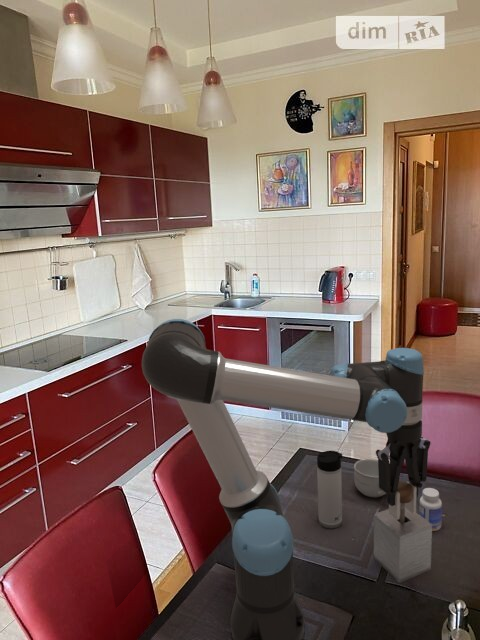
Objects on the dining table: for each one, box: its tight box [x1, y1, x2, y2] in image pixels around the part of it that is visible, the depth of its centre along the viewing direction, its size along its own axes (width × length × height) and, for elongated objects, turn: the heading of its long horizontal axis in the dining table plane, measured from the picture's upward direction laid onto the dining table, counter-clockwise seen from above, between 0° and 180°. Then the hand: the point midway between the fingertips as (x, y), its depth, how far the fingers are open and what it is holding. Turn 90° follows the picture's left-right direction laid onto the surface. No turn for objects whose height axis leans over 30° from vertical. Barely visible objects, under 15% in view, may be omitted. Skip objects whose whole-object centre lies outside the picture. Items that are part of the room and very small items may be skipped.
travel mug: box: [316, 450, 343, 529], centre depth 130 cm, size 6×7×20 cm
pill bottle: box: [418, 487, 443, 532], centre depth 128 cm, size 5×5×10 cm
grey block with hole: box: [373, 507, 433, 584], centre depth 116 cm, size 9×11×12 cm
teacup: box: [353, 458, 387, 498], centre depth 143 cm, size 14×11×8 cm
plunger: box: [397, 480, 412, 524], centre depth 113 cm, size 7×7×18 cm
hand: (402, 512), depth 113 cm, fingers closed on plunger, 4 cm apart
